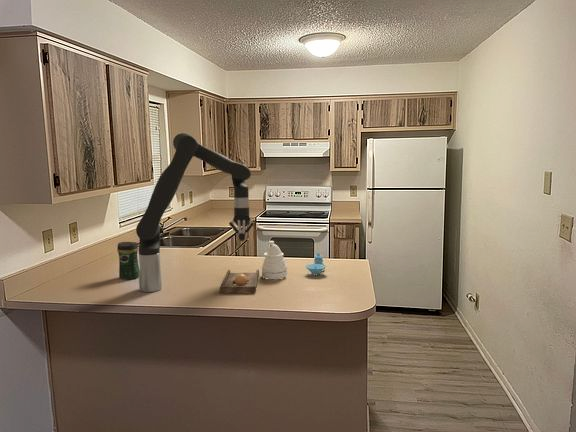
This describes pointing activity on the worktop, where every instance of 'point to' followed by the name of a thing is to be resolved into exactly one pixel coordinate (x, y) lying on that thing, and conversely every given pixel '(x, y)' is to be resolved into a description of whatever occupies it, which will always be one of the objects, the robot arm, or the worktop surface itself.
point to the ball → (241, 279)
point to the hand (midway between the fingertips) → (242, 240)
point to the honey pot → (274, 263)
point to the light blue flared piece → (316, 265)
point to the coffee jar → (128, 260)
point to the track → (230, 288)
